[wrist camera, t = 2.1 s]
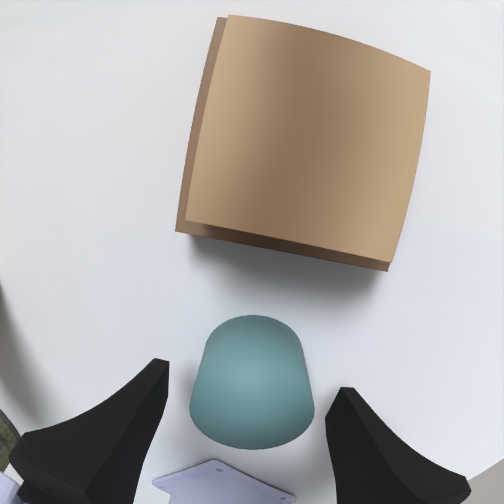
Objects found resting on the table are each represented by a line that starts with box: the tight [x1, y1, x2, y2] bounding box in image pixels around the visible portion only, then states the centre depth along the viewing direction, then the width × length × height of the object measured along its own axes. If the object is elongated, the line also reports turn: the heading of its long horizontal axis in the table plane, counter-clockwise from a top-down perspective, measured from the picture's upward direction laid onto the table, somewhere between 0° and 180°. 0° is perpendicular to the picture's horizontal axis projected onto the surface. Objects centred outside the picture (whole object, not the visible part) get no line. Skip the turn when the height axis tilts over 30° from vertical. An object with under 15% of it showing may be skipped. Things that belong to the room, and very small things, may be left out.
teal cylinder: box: [190, 315, 314, 450], centre depth 12 cm, size 5×5×4 cm
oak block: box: [185, 15, 431, 263], centre depth 8 cm, size 6×6×2 cm
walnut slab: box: [175, 17, 390, 272], centre depth 10 cm, size 8×8×2 cm
